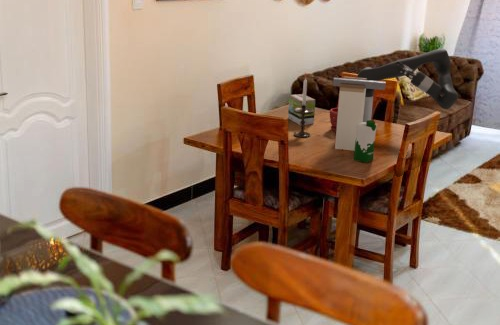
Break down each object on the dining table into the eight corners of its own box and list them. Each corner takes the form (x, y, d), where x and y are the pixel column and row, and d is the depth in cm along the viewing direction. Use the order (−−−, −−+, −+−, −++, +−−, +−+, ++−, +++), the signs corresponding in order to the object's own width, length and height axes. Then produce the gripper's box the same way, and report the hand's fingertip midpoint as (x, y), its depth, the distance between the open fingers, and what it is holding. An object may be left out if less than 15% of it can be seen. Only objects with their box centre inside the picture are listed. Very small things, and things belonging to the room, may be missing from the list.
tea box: (287, 118, 404) (288, 94, 400) (302, 117, 408) (303, 93, 404) (299, 125, 391) (300, 100, 387) (314, 124, 396) (316, 99, 391)
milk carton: (366, 163, 329) (370, 124, 323) (350, 159, 335) (354, 120, 328) (375, 159, 336) (379, 120, 329) (359, 155, 341) (363, 117, 335)
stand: (361, 138, 371) (367, 77, 360) (358, 151, 349) (364, 86, 338) (339, 136, 373) (344, 75, 362) (334, 148, 351) (340, 84, 340)
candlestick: (301, 139, 365) (305, 74, 353) (287, 134, 373) (291, 71, 361) (315, 136, 371) (320, 72, 360) (302, 131, 379) (306, 69, 368)
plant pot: (351, 128, 390) (353, 107, 386) (352, 134, 378) (354, 113, 374) (328, 126, 391) (330, 106, 387) (328, 132, 379) (330, 111, 375)
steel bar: (385, 88, 343) (385, 81, 342) (384, 90, 340) (385, 83, 339) (333, 84, 348) (334, 77, 347) (332, 85, 345) (333, 78, 344)
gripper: (426, 73, 355) (400, 55, 355) (426, 78, 342) (400, 60, 342) (417, 84, 358) (391, 67, 358) (417, 90, 344) (391, 72, 345)
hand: (395, 63), depth 350 cm, fingers open, 8 cm apart
